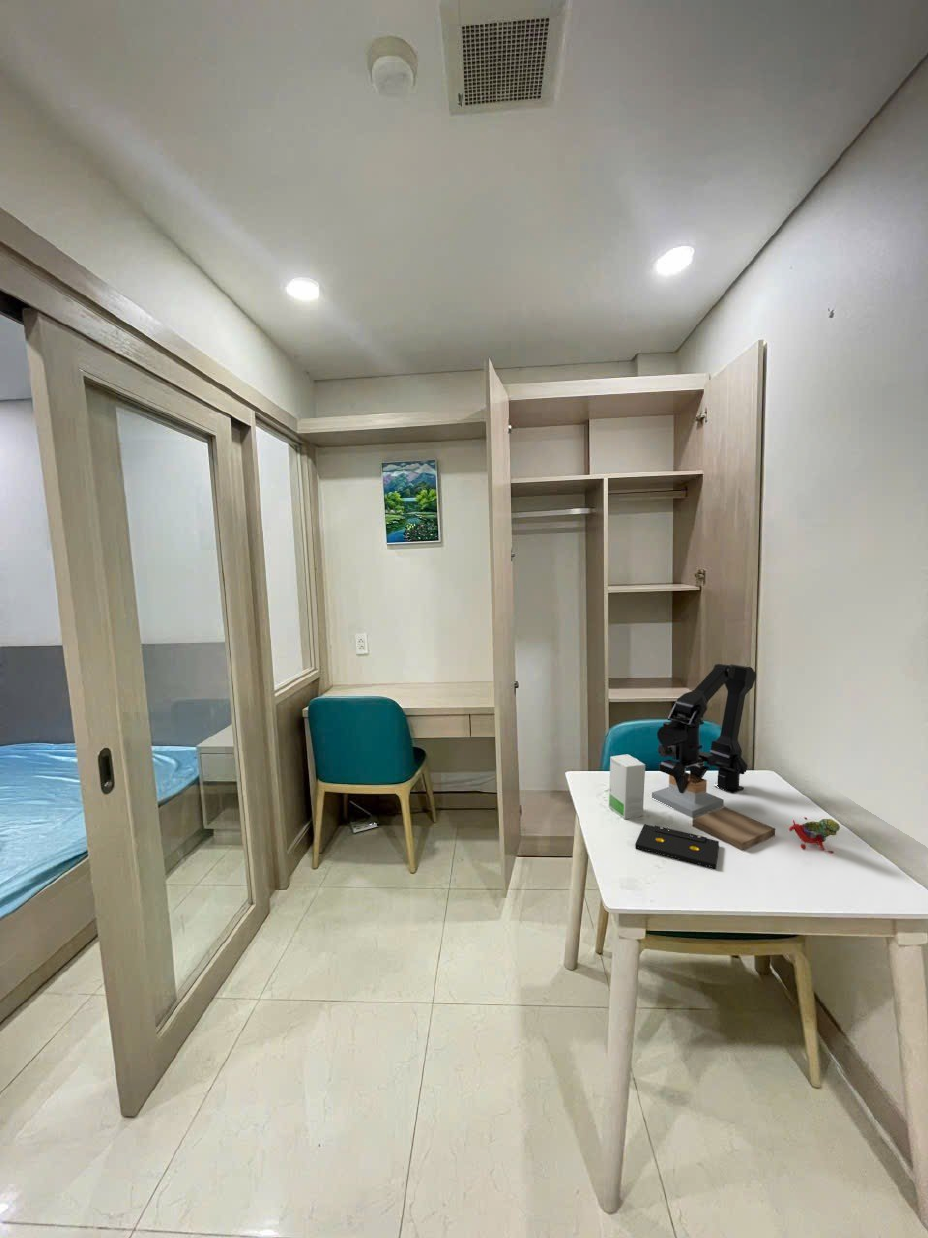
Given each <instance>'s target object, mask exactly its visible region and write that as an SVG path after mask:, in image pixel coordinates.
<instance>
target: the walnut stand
mask: <svg viewBox="0 0 928 1238" xmlns="http://www.w3.org/2000/svg"><path fill="white" fill-rule="evenodd" d="M692 827H694V828H696V829H697V830H699V831H701V832H703V833H705V834H708V835H709V836H711V837H714V838H715V839H718V840H719V841H721V842H724V843H726V844H728V845H730V846H732V847H733V848H736V849H738V850H740V851H742V852H744V851H745V850H747V849H750V848H752V847H753V846H756V845H758V844H760V843H762V842H764V841H767V840H769V839H771V838H774V837H775V836H776V828H775V827H774V826H770V825H768V824H766V823H763V822H761V821H760V820H756V819H754V818H752V817H750V816H747V815H745V814H743V813H740V812H737V811H735V810H733V809H731V808H728V807H726V806H723V807H720V808H717V809H715V810H712V811H709V812H707V813H704V814H701V815H699V816H696V817H693V818H692Z"/></svg>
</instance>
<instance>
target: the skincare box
mask: <svg viewBox="0 0 928 1238" xmlns="http://www.w3.org/2000/svg"><path fill="white" fill-rule="evenodd" d="M609 761H610V763H609V781H608V782H609V786H608V807H609V809H610V810H612V811H614V813H616V814H617V815H619V817H621V818H622V819H623V820H628V819H635V818H640V817H643V816H644V796H645V775H646V764H645V763H643V762H642V761H640V760H638V759H637V758H636V757H633V756H631V755H630V754H627V753H626V754H620V755H613V756H610V760H609Z"/></svg>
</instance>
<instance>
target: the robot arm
mask: <svg viewBox="0 0 928 1238" xmlns="http://www.w3.org/2000/svg"><path fill="white" fill-rule="evenodd" d="M756 678H757V672H756V671H754V668H753V667H751V666H745V665H740V664H739V665H738V664H732V663H731V664H723V663H716V664H715V665H713V668H712V670H711V671H710V672H709V673H708V675H706V676H705V678H704V679H702V680H701V682H700V683H698V685H697V686H696V687H695V688H694V689H693V690H692V691H688V692H685V693H683V694H682V695H681V696H679V697H678V698H677V699H676V701H675V703H673V704H674V705H673V707H672V708H671V710H670V712H669V715H668V716H667V721H664V722H663V724H662V726H661V727H659V728H658V731H657V732H656V735H657V736H656V737H657V739H658V742H659V743H660V744H658V747H657V752H658V755H659V756H662V758H664V759H666V758H670V757H671V758H672V759H673V760H671V759H667V760H664V761H661V762H659V764H658V771H659V772H662V773H664V774H666V775H668V776H669V775H671V776H673V777H674V779H675V781H676V784H677V787H678V790H679V792H680V793H682V794H683V793H684V790H685V787H686V784H687V781H688V778H689V774H687V773H688V772H687V770H686V769H687V768H688V769H689V773H690V774H692V775H695V776H697V777H700V778H703V777H704V775H706V773H707V771H708V770H710V767H716V768H718V769H717V783H718V785H717V786H718V787H719V788H718V789H720V788H722V789H724V790H723V791H725V790H726V792H727V791H728V792H727V793H730V794H734V793H736V792H739V791H742V790H744V789H745V787H744V786H742V785H740V776H741V775H745V773H746V772H747V769H748V764H747V762H746V761H745V760H744V759H743V758H742V752H743V751H742V746H741V745H740V743H739V740H738V739H739V734H740V727H741V723H742V717H743V710H744V706H745V700H746V695H747V694H748V693H749V692H750V691H751V690H752V689H753V687H754V685H755V681H756ZM724 685H725V688H726V690H727V694H726V700H725V706H724V710H723V711H724V712H723V718H722V724H721V729H720V734H719V736H718V737H717V738H716V739H715V740H714V739H713V740H712V741H711V746H710V751H709V752H705V751H702V750H701V749H703V744H701V743H700V726H702V725H704V724H705V722H704V721H703V720H702V718H703V716H704V715H705V713H706V712H707V710H708V702H709V701H710V700H711V699H712V698H713V697H714V696H715V694H717V693H718V691H719V690H720V689H721V688H722V687H723V686H724ZM705 762H706V763H705ZM706 765H708V766H706ZM686 772H687V773H686ZM722 789H721V790H722Z"/></svg>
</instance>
